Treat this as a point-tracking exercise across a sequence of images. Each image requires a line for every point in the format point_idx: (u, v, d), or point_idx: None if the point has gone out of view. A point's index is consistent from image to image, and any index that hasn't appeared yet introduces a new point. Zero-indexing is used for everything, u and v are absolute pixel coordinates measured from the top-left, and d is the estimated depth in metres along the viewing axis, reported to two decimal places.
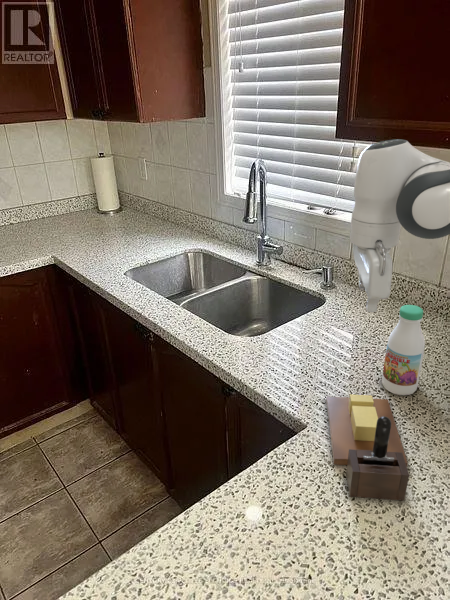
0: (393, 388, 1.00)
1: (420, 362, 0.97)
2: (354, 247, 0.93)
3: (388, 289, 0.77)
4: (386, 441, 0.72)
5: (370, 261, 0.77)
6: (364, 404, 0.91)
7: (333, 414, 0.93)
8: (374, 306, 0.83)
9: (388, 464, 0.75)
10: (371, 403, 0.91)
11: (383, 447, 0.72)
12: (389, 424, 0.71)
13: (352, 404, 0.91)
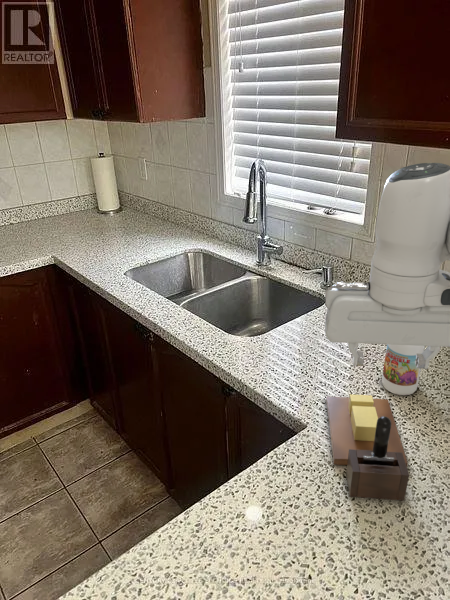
0: (393, 388, 1.00)
1: None
2: None
3: (326, 328, 0.66)
4: (386, 441, 0.72)
5: None
6: (364, 404, 0.91)
7: (333, 414, 0.93)
8: (353, 358, 0.69)
9: (388, 464, 0.75)
10: (371, 403, 0.91)
11: (383, 447, 0.72)
12: (389, 424, 0.71)
13: (352, 404, 0.91)
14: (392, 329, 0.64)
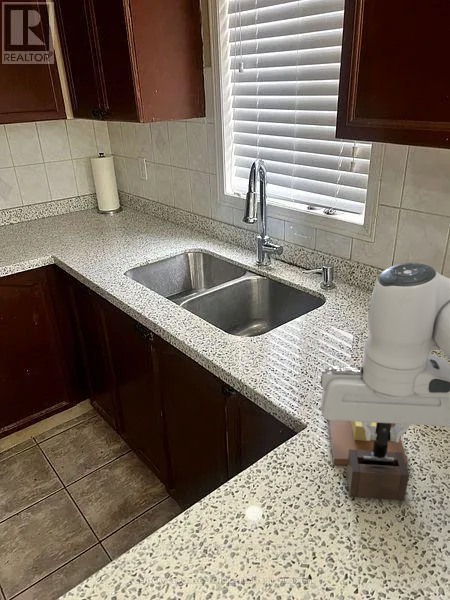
0: None
1: None
2: None
3: (322, 407, 0.70)
4: (386, 441, 0.72)
5: None
6: None
7: None
8: (367, 433, 0.72)
9: (388, 464, 0.75)
10: None
11: (383, 447, 0.72)
12: (389, 424, 0.71)
13: None
14: (384, 410, 0.68)
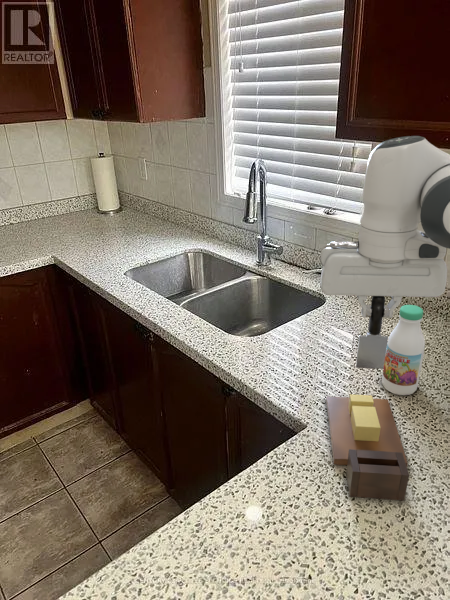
0: (393, 388, 1.00)
1: (420, 362, 0.97)
2: None
3: (322, 282, 0.76)
4: (380, 316, 0.78)
5: None
6: (364, 404, 0.91)
7: (333, 414, 0.93)
8: (362, 310, 0.79)
9: (382, 342, 0.81)
10: (371, 403, 0.91)
11: (378, 322, 0.78)
12: (383, 299, 0.77)
13: (352, 404, 0.91)
14: (378, 282, 0.74)
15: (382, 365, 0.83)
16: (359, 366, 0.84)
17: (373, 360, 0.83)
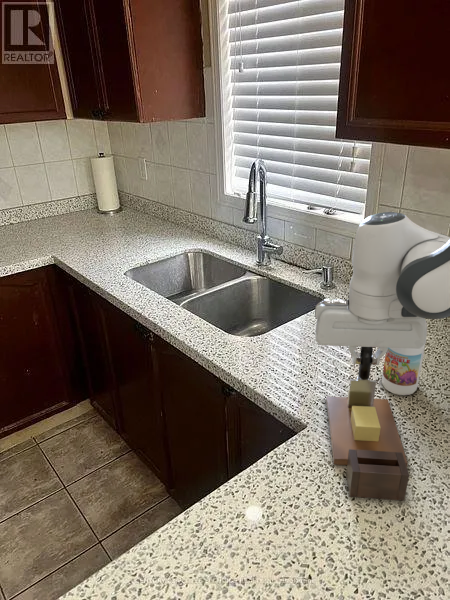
0: (393, 388, 1.00)
1: (420, 362, 0.97)
2: None
3: (316, 334, 0.85)
4: (369, 364, 0.87)
5: None
6: None
7: (333, 414, 0.93)
8: (353, 358, 0.88)
9: (371, 386, 0.90)
10: None
11: (367, 369, 0.88)
12: (371, 348, 0.86)
13: None
14: (366, 335, 0.84)
15: (371, 406, 0.92)
16: (351, 407, 0.93)
17: (363, 402, 0.92)
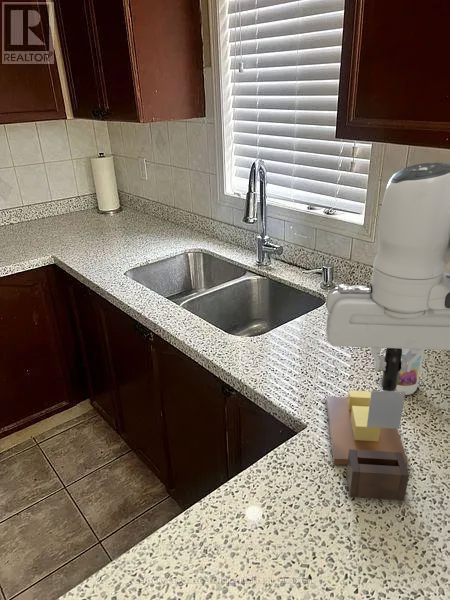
0: None
1: (420, 362, 0.97)
2: None
3: (328, 331, 0.65)
4: (396, 370, 0.66)
5: None
6: (363, 400, 0.92)
7: (333, 414, 0.93)
8: (375, 362, 0.67)
9: (398, 399, 0.69)
10: None
11: (393, 377, 0.67)
12: (400, 350, 0.65)
13: (351, 400, 0.93)
14: (395, 333, 0.63)
15: (398, 425, 0.71)
16: (371, 425, 0.72)
17: (387, 419, 0.71)
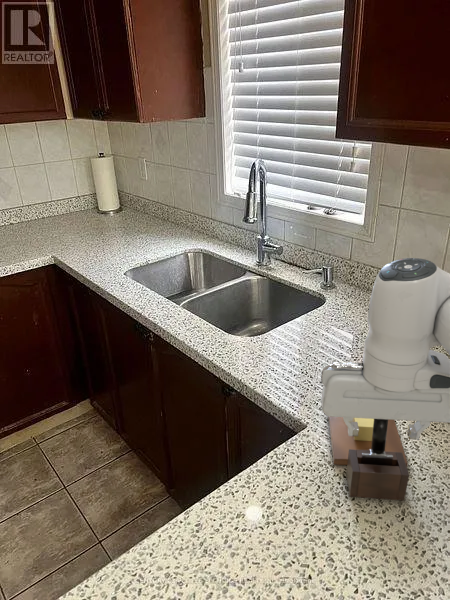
0: None
1: None
2: None
3: (323, 403, 0.70)
4: (384, 435, 0.73)
5: None
6: None
7: None
8: (349, 429, 0.72)
9: (387, 462, 0.75)
10: None
11: (382, 441, 0.73)
12: None
13: None
14: (384, 406, 0.68)
15: None
16: None
17: None
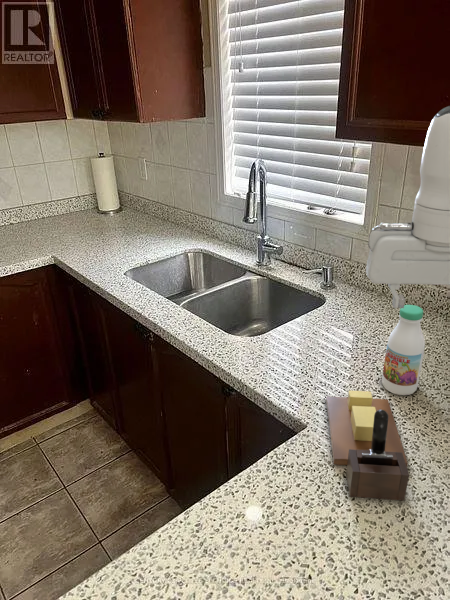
0: (393, 388, 1.00)
1: (420, 362, 0.97)
2: None
3: (369, 269, 0.68)
4: (384, 435, 0.73)
5: None
6: (363, 400, 0.92)
7: (333, 414, 0.93)
8: (394, 300, 0.71)
9: (387, 462, 0.75)
10: (370, 399, 0.92)
11: (382, 441, 0.73)
12: (386, 416, 0.72)
13: (351, 400, 0.93)
14: (434, 268, 0.66)
15: None
16: None
17: None
